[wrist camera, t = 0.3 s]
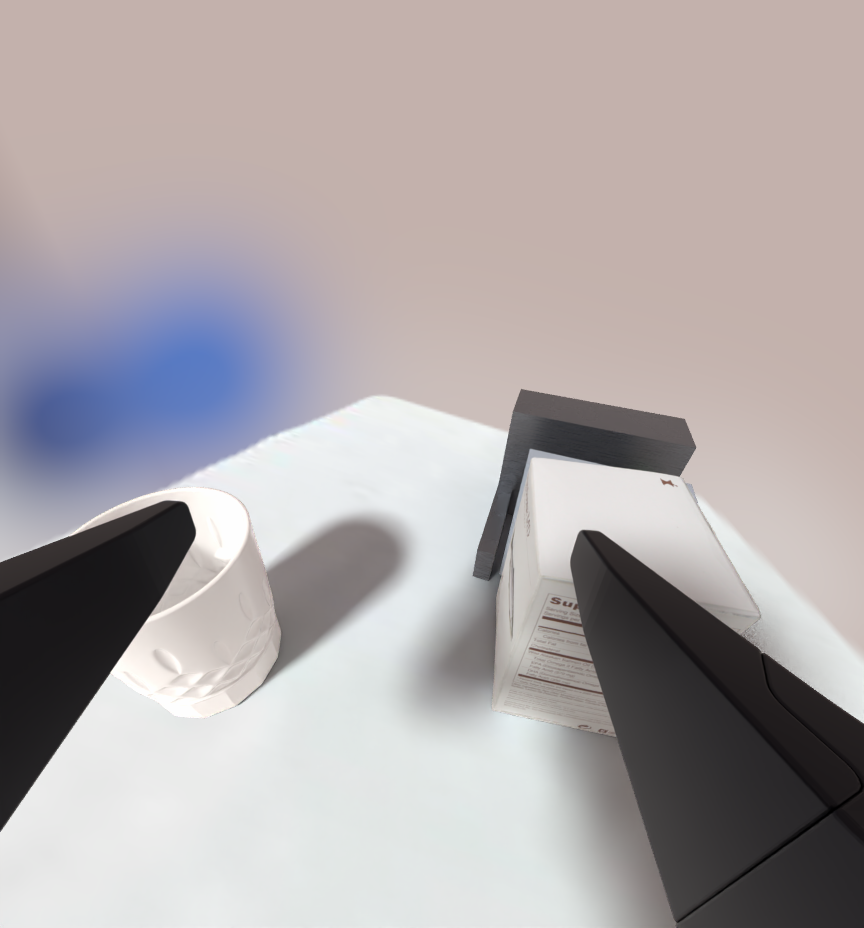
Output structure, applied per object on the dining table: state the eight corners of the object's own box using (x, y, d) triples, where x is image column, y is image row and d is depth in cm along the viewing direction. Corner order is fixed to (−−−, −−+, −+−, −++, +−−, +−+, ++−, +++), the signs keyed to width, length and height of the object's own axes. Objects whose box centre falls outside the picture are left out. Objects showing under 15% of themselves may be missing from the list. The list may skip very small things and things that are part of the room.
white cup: (308, 600, 25) (276, 490, 19) (260, 738, 19) (189, 641, 13) (194, 593, 25) (126, 481, 19) (108, 728, 19) (-34, 626, 13)
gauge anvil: (652, 632, 24) (733, 528, 18) (472, 575, 27) (491, 470, 21) (636, 516, 33) (687, 419, 27) (502, 482, 36) (521, 389, 30)
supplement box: (493, 596, 26) (529, 450, 18) (602, 617, 25) (688, 472, 17) (486, 714, 20) (534, 573, 12) (628, 747, 19) (775, 616, 11)
